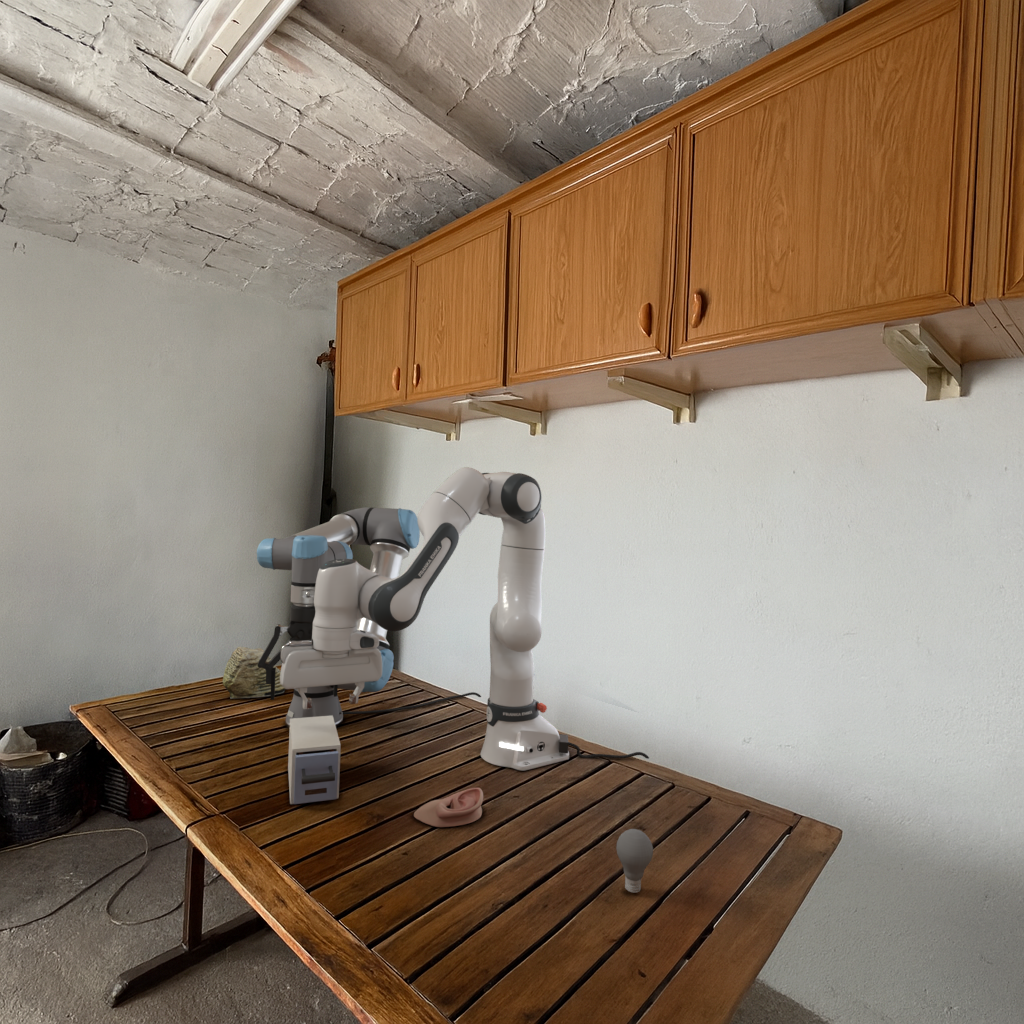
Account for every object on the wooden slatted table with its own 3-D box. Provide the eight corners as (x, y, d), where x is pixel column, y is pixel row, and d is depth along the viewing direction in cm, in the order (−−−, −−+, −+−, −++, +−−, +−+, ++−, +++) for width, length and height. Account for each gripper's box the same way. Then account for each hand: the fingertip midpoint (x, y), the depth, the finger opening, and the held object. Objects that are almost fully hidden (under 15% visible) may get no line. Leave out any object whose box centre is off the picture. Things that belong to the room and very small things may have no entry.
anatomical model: (408, 802, 124) (427, 778, 135) (407, 822, 124) (427, 796, 136) (473, 812, 122) (488, 786, 133) (473, 832, 122) (487, 805, 133)
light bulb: (610, 879, 108) (613, 822, 108) (644, 879, 109) (647, 822, 109) (619, 902, 102) (622, 840, 102) (655, 901, 103) (658, 840, 103)
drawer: (339, 811, 126) (341, 763, 126) (294, 817, 123) (296, 768, 123) (329, 764, 147) (331, 723, 147) (291, 768, 144) (292, 727, 144)
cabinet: (338, 798, 133) (340, 744, 133) (290, 804, 130) (292, 749, 130) (330, 762, 151) (332, 715, 150) (288, 767, 147) (289, 718, 147)
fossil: (218, 695, 195) (220, 647, 195) (278, 685, 208) (279, 640, 207) (228, 703, 189) (230, 653, 188) (289, 692, 201) (290, 645, 201)
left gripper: (247, 607, 136) (243, 704, 137) (365, 605, 144) (361, 698, 144) (250, 601, 144) (246, 694, 144) (362, 600, 151) (359, 688, 152)
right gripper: (284, 645, 122) (280, 716, 122) (386, 639, 132) (383, 704, 132) (278, 637, 127) (274, 706, 127) (377, 632, 137) (373, 696, 138)
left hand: (304, 696), depth 144 cm, fingers open, 13 cm apart
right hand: (330, 705), depth 130 cm, fingers open, 8 cm apart
